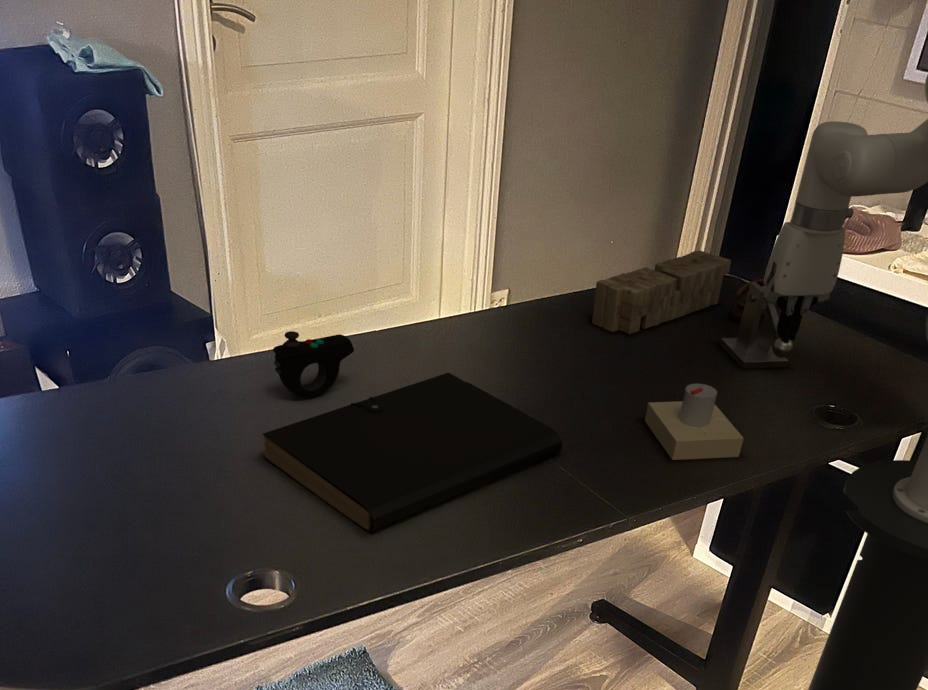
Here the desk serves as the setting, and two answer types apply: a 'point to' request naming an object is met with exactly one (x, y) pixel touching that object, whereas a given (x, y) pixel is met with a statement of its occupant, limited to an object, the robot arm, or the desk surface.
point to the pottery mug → (739, 304)
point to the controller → (310, 362)
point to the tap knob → (698, 404)
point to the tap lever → (779, 346)
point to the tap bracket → (754, 335)
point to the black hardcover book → (408, 448)
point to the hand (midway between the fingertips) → (785, 336)
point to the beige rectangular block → (692, 433)
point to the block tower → (659, 292)
